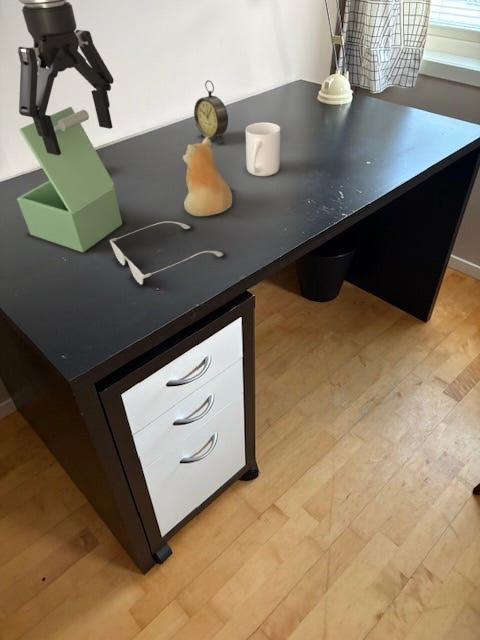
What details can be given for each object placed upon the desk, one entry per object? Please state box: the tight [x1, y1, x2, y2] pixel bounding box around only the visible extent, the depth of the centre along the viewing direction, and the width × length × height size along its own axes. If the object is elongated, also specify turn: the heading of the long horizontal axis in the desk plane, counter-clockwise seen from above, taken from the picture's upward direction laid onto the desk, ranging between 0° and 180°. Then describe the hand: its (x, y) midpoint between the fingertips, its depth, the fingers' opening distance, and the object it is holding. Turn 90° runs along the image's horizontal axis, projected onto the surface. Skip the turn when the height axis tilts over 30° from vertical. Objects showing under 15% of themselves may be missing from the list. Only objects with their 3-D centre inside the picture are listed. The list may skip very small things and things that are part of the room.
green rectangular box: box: [16, 179, 123, 253], centre depth 103 cm, size 16×13×9 cm
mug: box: [245, 122, 281, 177], centre depth 120 cm, size 9×12×11 cm
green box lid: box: [18, 106, 115, 213], centre depth 90 cm, size 17×13×8 cm
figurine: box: [182, 137, 233, 217], centre depth 107 cm, size 12×13×15 cm
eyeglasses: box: [109, 220, 224, 285], centre depth 95 cm, size 15×18×4 cm
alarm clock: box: [193, 79, 229, 145], centre depth 136 cm, size 11×5×16 cm, turn 42°
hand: (81, 139), depth 88 cm, fingers open, 13 cm apart
